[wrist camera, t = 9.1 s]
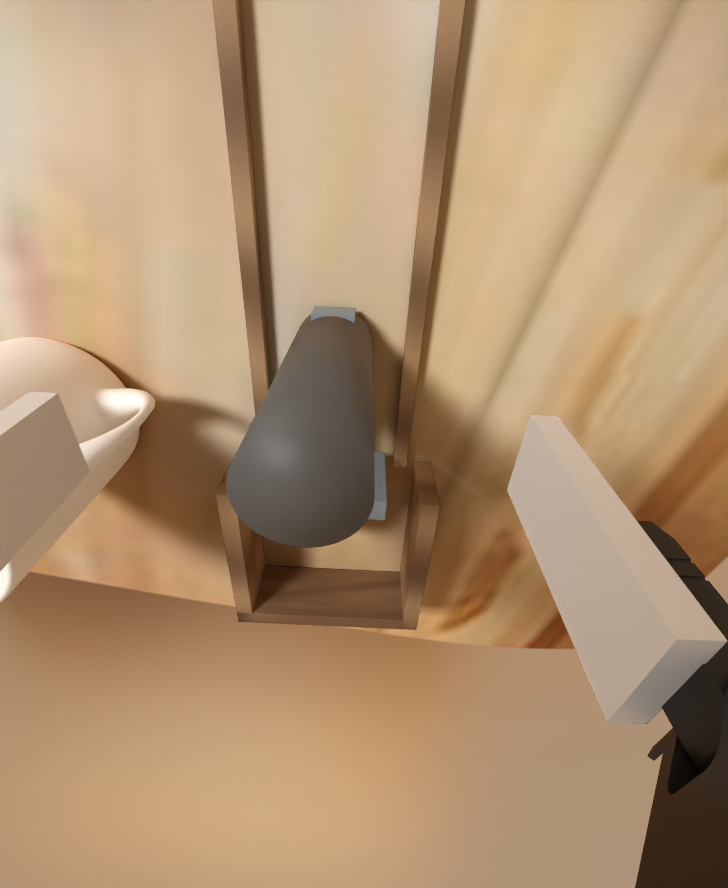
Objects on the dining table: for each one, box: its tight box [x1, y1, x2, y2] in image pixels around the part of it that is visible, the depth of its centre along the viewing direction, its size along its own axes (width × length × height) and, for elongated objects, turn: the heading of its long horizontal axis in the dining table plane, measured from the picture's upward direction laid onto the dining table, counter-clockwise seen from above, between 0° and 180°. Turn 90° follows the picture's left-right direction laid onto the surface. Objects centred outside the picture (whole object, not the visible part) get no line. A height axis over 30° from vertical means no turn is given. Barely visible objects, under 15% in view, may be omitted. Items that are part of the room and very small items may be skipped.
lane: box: [213, 0, 465, 467], centre depth 20 cm, size 21×9×1 cm, turn 177°
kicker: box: [226, 306, 387, 548], centre depth 18 cm, size 9×6×12 cm, turn 177°
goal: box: [215, 454, 440, 630], centre depth 27 cm, size 11×12×4 cm
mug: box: [0, 337, 155, 602], centre depth 19 cm, size 9×12×11 cm
